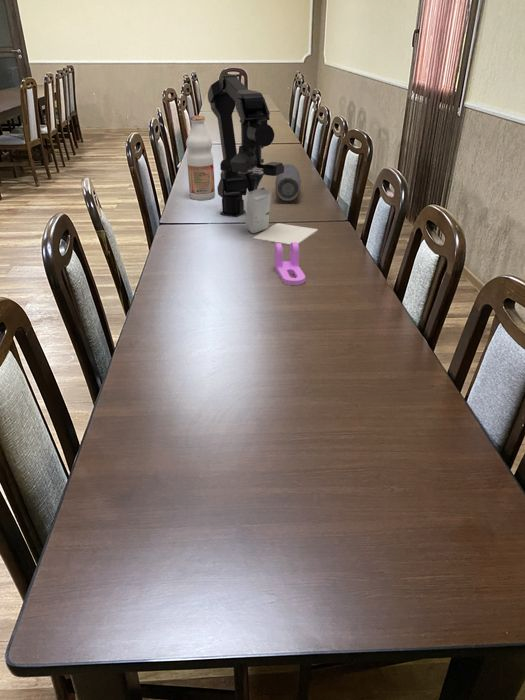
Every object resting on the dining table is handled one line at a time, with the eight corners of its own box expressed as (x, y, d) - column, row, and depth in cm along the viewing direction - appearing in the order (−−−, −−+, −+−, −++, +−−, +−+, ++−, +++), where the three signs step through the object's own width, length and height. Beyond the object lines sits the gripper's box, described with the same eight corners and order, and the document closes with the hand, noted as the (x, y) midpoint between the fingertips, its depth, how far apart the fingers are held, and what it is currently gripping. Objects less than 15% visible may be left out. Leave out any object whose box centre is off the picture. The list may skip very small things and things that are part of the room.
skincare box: (252, 234, 163) (255, 200, 154) (244, 226, 165) (246, 192, 156) (269, 227, 166) (272, 193, 157) (260, 220, 168) (263, 186, 159)
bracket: (274, 267, 140) (274, 241, 137) (295, 265, 141) (295, 240, 137) (285, 287, 129) (285, 259, 125) (307, 285, 130) (308, 257, 126)
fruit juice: (184, 197, 201) (178, 116, 187) (204, 192, 206) (199, 113, 192) (200, 202, 195) (195, 118, 181) (220, 197, 200) (216, 116, 186)
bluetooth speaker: (301, 204, 191) (301, 175, 186) (274, 204, 192) (274, 175, 186) (299, 188, 211) (300, 162, 206) (276, 188, 211) (276, 162, 206)
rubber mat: (252, 238, 159) (252, 237, 159) (277, 224, 171) (277, 223, 171) (295, 246, 153) (295, 244, 153) (317, 230, 165) (317, 229, 165)
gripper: (208, 143, 152) (211, 198, 159) (266, 148, 144) (266, 206, 152) (229, 137, 160) (231, 190, 168) (285, 142, 152) (284, 197, 160)
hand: (252, 196), depth 162 cm, fingers closed
